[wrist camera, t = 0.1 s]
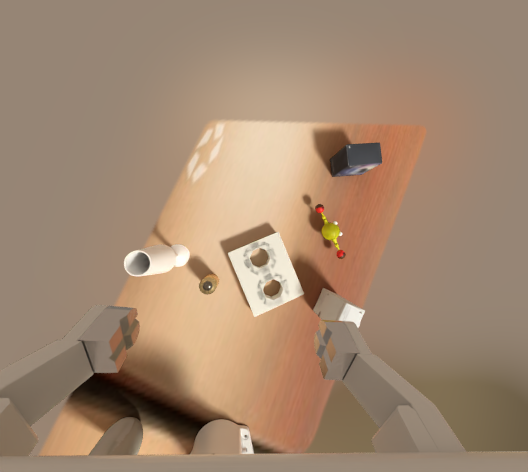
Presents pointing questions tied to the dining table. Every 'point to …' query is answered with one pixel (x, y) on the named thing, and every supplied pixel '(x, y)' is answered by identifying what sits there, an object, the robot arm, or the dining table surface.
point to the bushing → (209, 284)
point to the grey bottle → (121, 438)
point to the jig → (266, 274)
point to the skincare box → (337, 308)
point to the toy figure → (330, 231)
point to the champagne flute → (155, 259)
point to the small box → (356, 159)
